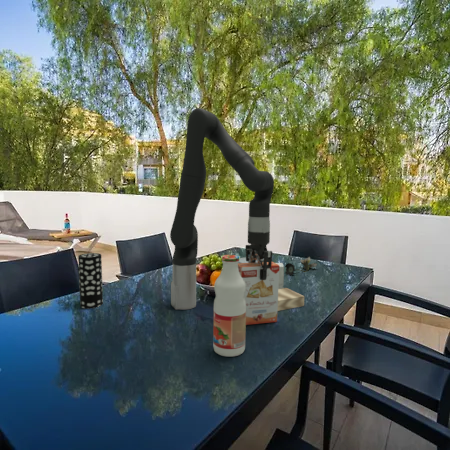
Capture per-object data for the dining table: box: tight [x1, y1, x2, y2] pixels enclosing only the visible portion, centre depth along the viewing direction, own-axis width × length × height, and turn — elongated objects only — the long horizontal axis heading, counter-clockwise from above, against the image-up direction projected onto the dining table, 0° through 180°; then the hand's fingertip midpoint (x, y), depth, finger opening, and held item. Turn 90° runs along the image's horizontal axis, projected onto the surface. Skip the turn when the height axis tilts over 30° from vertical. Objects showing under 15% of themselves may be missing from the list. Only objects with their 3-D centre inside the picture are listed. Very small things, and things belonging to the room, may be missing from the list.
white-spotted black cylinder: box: [77, 252, 104, 310], centre depth 133 cm, size 8×8×20 cm
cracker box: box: [238, 261, 279, 326], centre depth 119 cm, size 14×6×21 cm, turn 105°
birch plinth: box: [277, 287, 305, 312], centre depth 137 cm, size 17×12×4 cm
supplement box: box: [275, 262, 285, 289], centre depth 153 cm, size 7×7×13 cm
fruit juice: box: [212, 254, 247, 357], centre depth 98 cm, size 9×9×28 cm
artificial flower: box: [284, 256, 318, 276], centre depth 188 cm, size 9×22×10 cm, turn 127°
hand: (257, 276), depth 118 cm, fingers closed on cracker box, 6 cm apart
